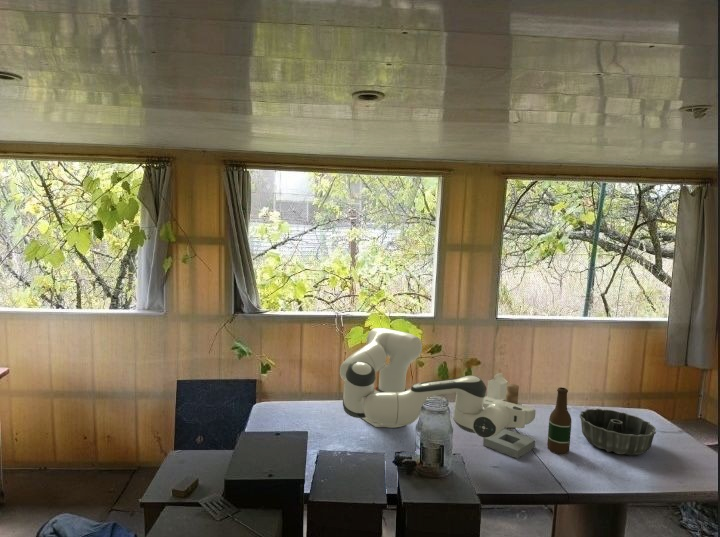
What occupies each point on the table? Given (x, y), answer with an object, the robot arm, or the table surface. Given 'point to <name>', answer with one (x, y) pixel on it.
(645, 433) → the bundt pan
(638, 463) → the table surface
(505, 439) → the socket block
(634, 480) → the table surface
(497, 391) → the milk
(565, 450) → the beer bottle
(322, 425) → the table surface
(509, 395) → the dowel
